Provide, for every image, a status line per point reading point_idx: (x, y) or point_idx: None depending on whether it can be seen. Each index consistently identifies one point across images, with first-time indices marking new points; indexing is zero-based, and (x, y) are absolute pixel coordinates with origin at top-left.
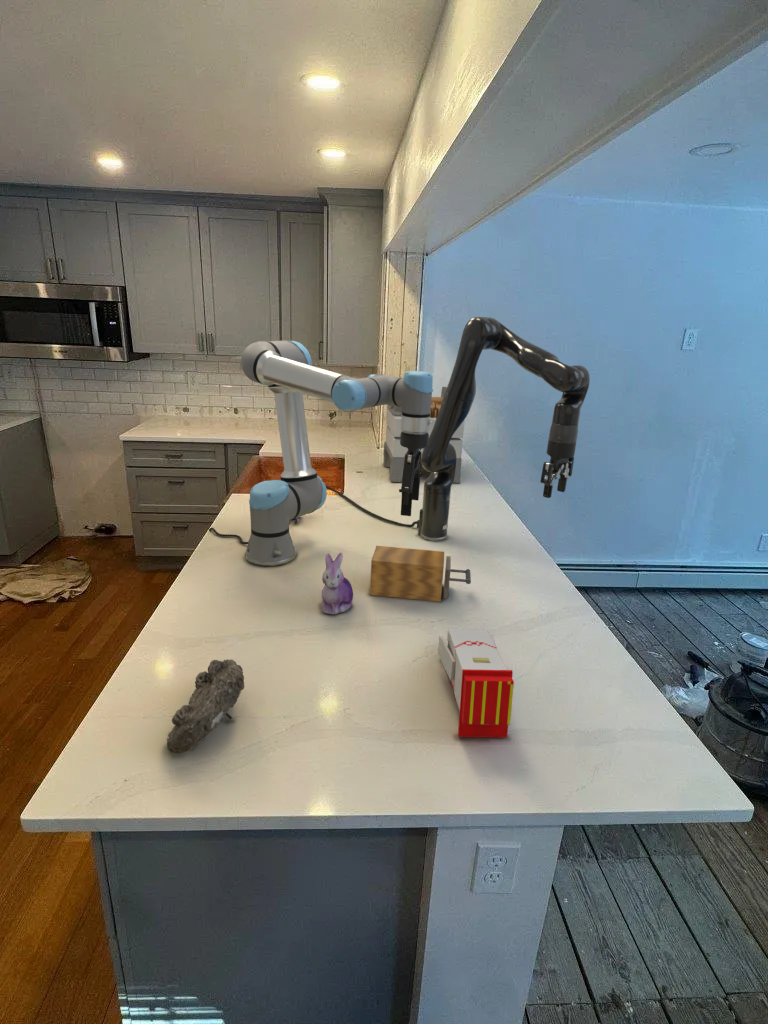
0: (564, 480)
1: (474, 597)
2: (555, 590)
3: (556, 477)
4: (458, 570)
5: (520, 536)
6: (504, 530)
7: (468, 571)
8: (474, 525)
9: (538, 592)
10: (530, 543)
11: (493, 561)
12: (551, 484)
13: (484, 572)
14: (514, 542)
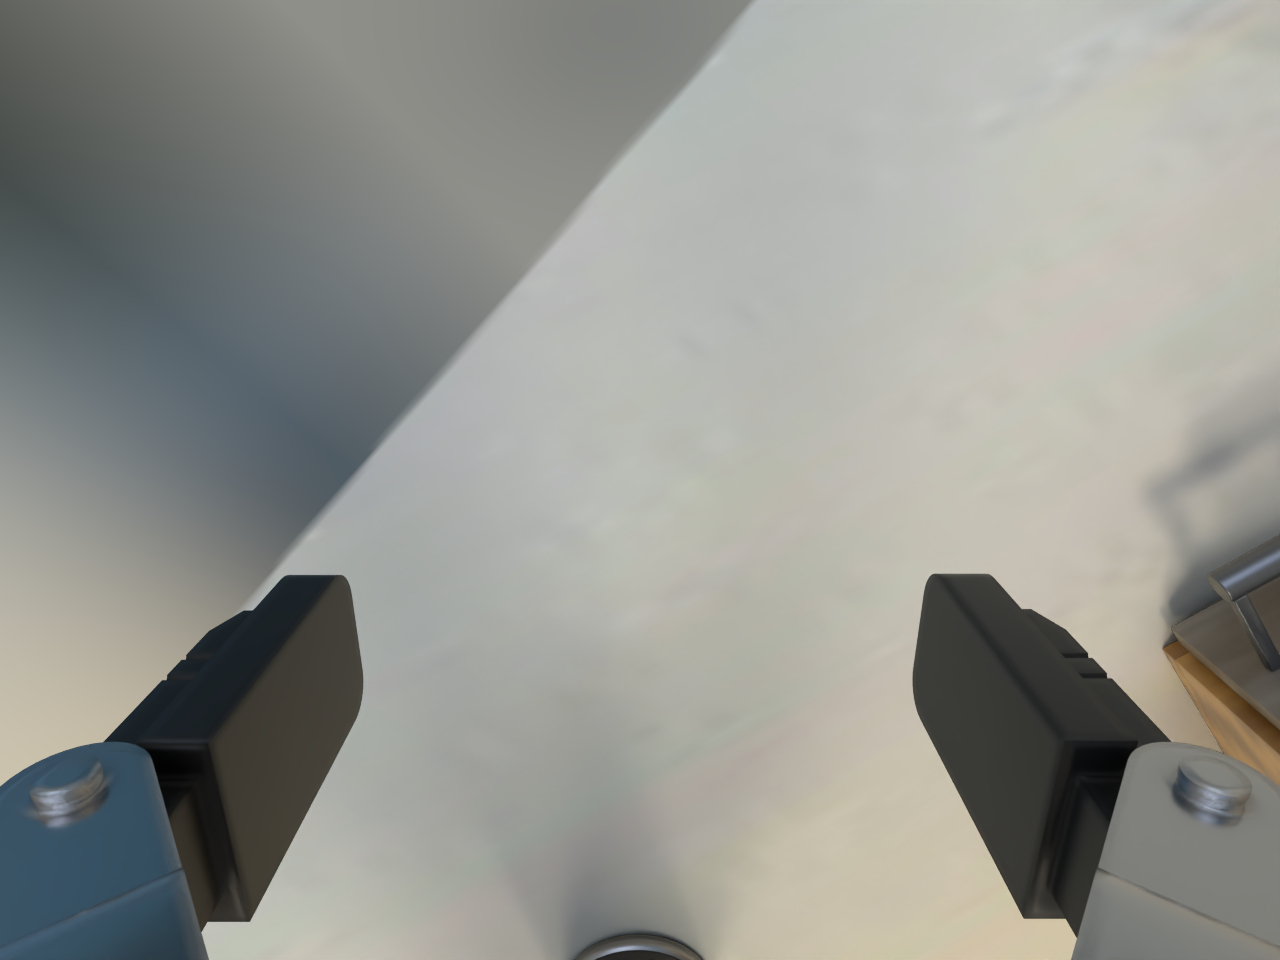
0: (221, 768)
1: (1197, 448)
2: (766, 138)
3: (1223, 927)
4: (1263, 627)
5: None
6: None
7: (1265, 575)
8: (311, 945)
9: (877, 208)
10: None
11: (674, 627)
12: (1233, 774)
13: (853, 583)
14: None
